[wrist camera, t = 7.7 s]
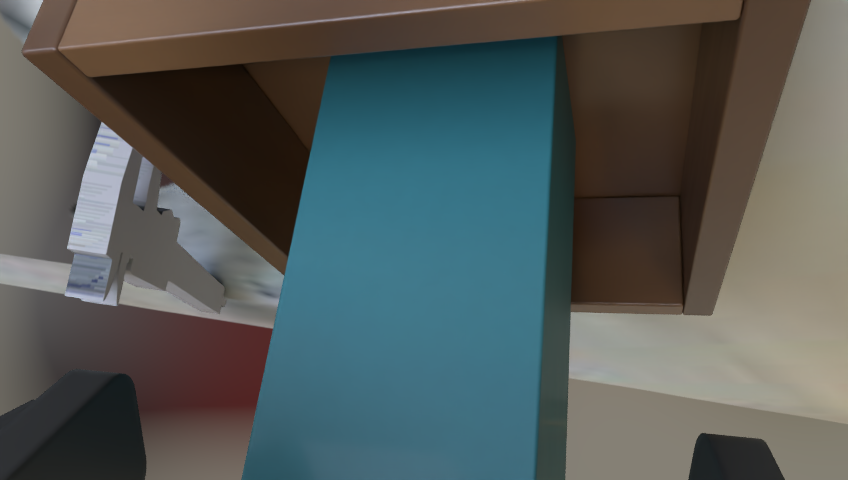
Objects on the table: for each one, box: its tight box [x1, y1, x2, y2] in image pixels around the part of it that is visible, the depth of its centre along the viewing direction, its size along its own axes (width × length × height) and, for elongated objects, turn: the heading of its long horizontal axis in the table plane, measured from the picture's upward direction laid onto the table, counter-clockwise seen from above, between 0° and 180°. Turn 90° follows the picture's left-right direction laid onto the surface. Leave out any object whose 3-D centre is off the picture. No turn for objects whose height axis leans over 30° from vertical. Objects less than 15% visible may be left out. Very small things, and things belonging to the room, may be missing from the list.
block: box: [241, 36, 576, 480], centre depth 15 cm, size 5×5×10 cm
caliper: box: [65, 122, 226, 314], centre depth 27 cm, size 20×1×6 cm, turn 171°
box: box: [22, 0, 811, 316], centre depth 17 cm, size 12×13×4 cm
